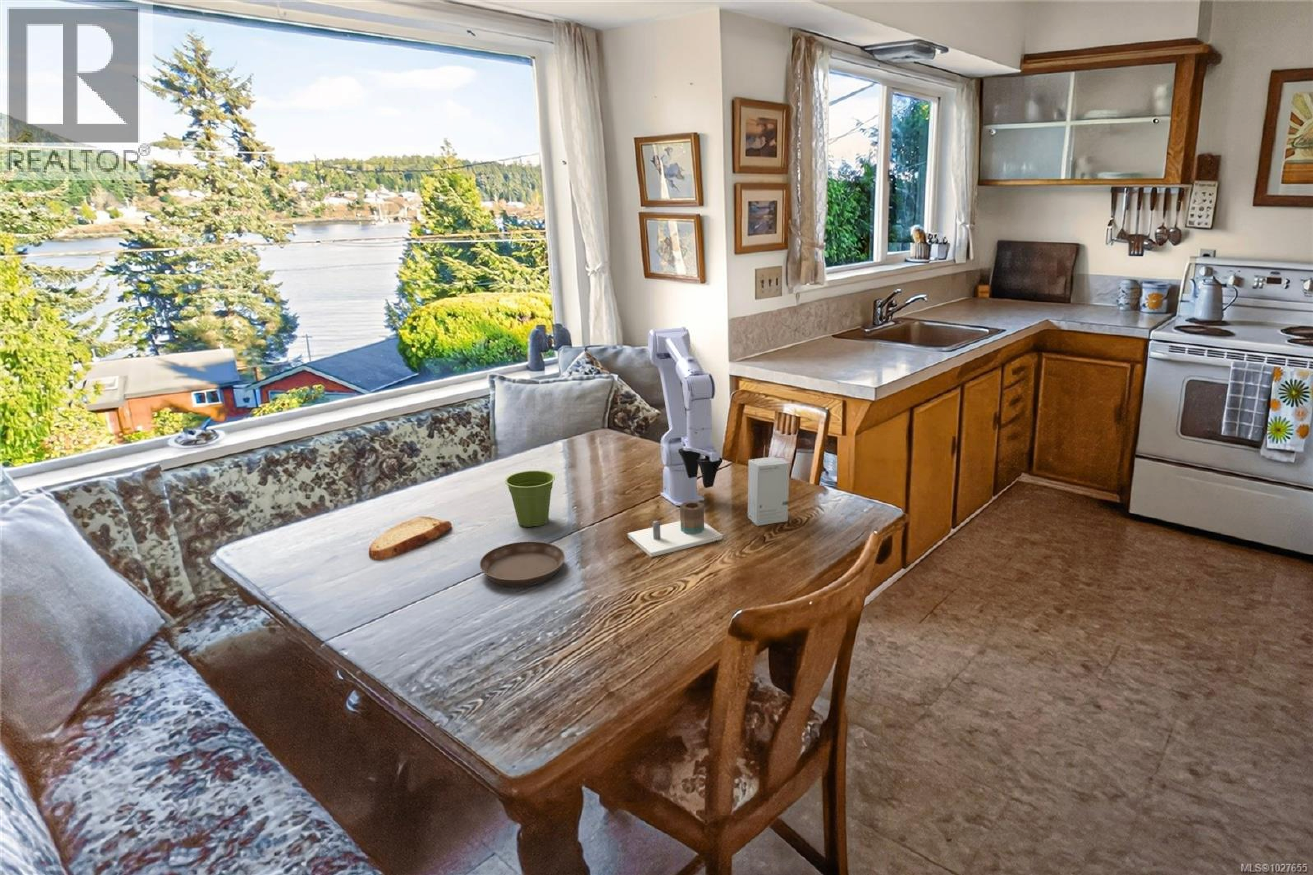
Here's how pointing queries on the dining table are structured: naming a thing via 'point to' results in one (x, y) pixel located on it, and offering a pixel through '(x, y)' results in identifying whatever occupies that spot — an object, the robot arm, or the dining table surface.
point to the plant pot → (531, 496)
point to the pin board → (670, 538)
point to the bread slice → (407, 537)
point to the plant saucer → (522, 563)
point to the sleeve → (692, 517)
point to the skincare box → (768, 490)
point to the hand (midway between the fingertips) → (700, 481)
